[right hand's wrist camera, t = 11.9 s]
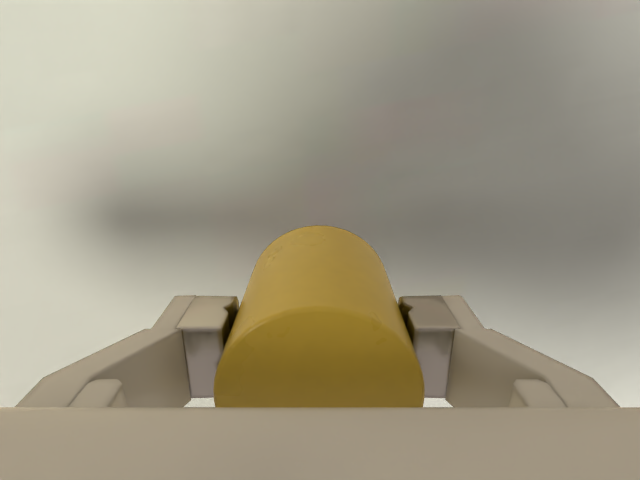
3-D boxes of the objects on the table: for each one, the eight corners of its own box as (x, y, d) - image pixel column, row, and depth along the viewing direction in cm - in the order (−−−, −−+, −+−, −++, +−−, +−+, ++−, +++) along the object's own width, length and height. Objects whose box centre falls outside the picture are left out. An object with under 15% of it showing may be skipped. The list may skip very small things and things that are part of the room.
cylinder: (277, 359, 13) (255, 497, 9) (231, 246, 12) (177, 341, 7) (400, 327, 13) (444, 454, 8) (367, 206, 11) (398, 281, 7)
